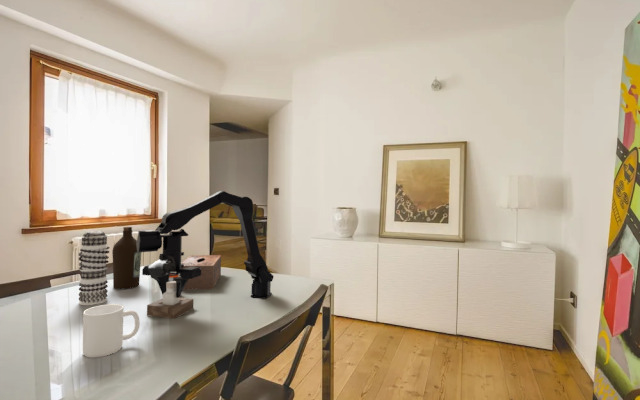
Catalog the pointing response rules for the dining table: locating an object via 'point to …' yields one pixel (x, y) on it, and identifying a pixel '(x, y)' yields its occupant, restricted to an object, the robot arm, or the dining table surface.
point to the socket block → (169, 308)
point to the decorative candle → (93, 268)
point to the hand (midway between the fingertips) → (171, 296)
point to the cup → (105, 329)
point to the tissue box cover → (203, 271)
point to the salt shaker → (170, 294)
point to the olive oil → (126, 261)
